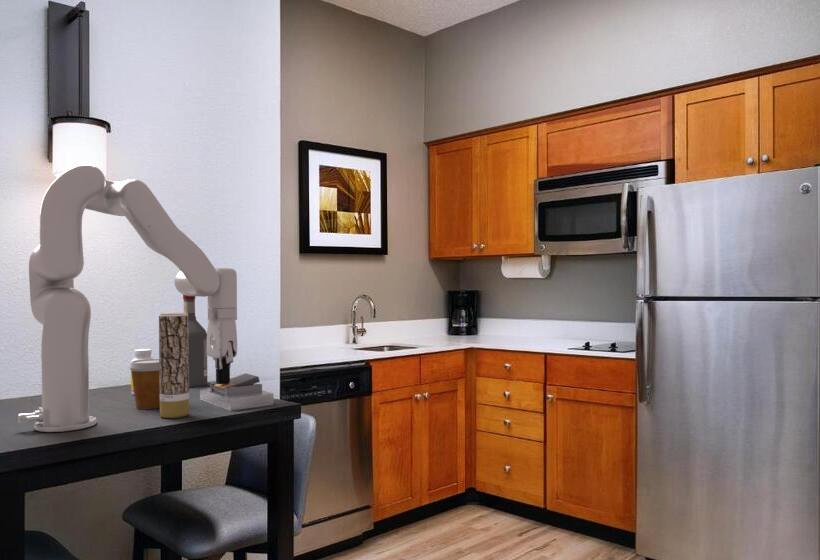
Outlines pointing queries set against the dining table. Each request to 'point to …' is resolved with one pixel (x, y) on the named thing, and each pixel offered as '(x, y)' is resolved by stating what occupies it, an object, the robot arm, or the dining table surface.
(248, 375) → the breaker rocker
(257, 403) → the breaker panel
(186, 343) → the paper tube
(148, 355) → the supplement bottle
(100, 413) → the dining table surface
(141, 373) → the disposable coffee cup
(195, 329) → the liquor
